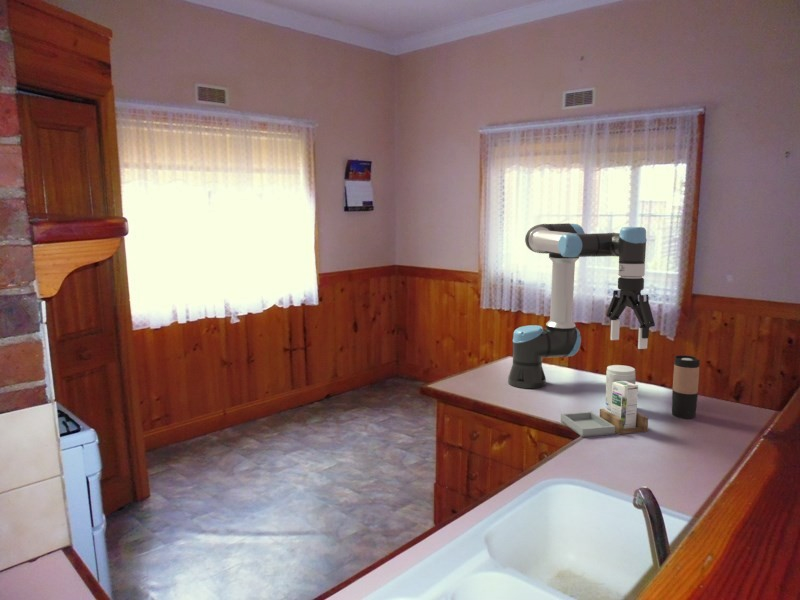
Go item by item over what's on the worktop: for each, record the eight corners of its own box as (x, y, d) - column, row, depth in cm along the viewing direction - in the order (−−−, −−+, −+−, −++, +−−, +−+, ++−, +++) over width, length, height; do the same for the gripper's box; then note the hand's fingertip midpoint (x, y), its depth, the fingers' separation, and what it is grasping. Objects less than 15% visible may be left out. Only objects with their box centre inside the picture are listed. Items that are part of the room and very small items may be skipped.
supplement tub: (640, 409, 194) (642, 369, 192) (623, 415, 189) (625, 373, 187) (615, 402, 202) (617, 363, 200) (599, 407, 197) (600, 367, 195)
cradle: (599, 422, 183) (599, 408, 182) (626, 419, 185) (627, 406, 184) (618, 434, 172) (619, 420, 172) (647, 431, 174) (648, 418, 173)
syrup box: (609, 425, 180) (611, 382, 178) (623, 422, 182) (625, 379, 180) (622, 431, 175) (624, 386, 173) (636, 428, 177) (639, 384, 175)
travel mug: (667, 415, 188) (671, 358, 185) (675, 410, 194) (678, 354, 191) (692, 421, 183) (696, 362, 180) (699, 415, 188) (703, 357, 186)
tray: (560, 421, 184) (560, 414, 184) (591, 418, 186) (591, 411, 186) (582, 437, 170) (582, 429, 170) (614, 434, 172) (615, 426, 172)
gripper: (596, 274, 183) (594, 337, 186) (648, 281, 159) (644, 353, 162) (616, 273, 185) (614, 335, 188) (670, 280, 161) (666, 351, 164)
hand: (628, 344), depth 175 cm, fingers open, 13 cm apart
